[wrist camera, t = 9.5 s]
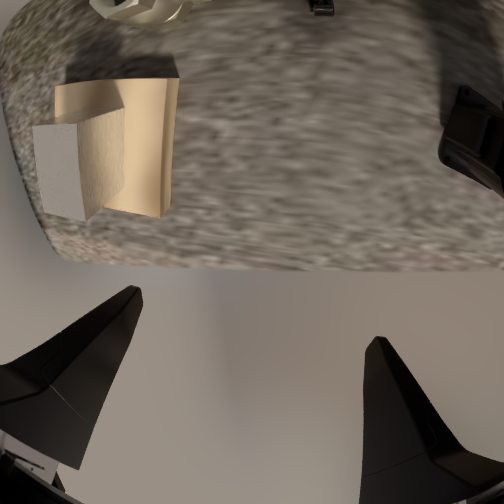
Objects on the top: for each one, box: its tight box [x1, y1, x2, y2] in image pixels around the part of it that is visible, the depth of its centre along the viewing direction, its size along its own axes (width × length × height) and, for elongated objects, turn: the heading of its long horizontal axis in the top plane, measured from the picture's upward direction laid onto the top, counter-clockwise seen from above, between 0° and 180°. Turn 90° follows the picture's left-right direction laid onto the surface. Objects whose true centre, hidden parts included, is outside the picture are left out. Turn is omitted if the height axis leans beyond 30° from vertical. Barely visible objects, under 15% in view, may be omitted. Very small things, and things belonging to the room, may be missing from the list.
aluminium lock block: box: [33, 108, 125, 222], centre depth 15 cm, size 4×6×5 cm, turn 170°
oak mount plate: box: [55, 78, 180, 218], centre depth 17 cm, size 10×10×2 cm
